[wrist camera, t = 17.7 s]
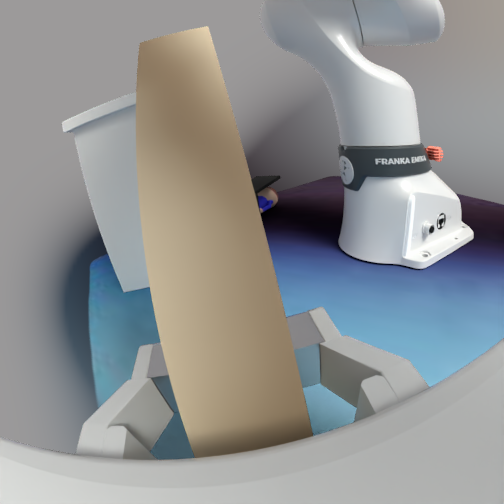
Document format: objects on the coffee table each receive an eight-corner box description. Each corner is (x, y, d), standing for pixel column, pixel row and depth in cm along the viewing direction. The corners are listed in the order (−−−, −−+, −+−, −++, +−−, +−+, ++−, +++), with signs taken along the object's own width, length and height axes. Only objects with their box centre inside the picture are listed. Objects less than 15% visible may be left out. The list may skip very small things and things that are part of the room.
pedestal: (207, 231, 56) (178, 104, 46) (206, 277, 38) (160, 84, 27) (143, 246, 55) (110, 125, 45) (116, 297, 37) (61, 122, 27)
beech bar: (343, 596, 3) (330, 562, 6) (208, 26, 9) (214, 72, 12) (277, 609, 3) (273, 574, 6) (139, 43, 9) (155, 86, 11)
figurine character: (257, 235, 53) (286, 202, 64) (247, 198, 49) (280, 171, 60) (228, 234, 56) (261, 203, 67) (217, 199, 53) (253, 173, 63)
